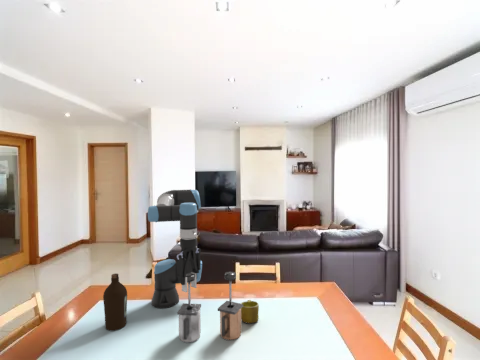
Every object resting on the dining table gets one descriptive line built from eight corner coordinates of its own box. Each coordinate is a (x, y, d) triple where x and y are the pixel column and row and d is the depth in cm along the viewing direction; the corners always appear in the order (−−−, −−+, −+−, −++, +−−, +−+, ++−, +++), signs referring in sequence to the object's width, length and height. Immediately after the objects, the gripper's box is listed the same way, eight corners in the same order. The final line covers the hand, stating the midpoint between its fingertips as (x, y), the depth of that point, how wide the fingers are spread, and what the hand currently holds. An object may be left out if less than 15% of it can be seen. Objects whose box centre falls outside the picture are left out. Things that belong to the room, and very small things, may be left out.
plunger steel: (180, 316, 129) (179, 275, 128) (189, 311, 134) (189, 272, 133) (189, 320, 125) (188, 278, 125) (199, 314, 130) (198, 274, 130)
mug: (260, 323, 137) (254, 301, 139) (240, 327, 139) (235, 306, 142) (265, 315, 149) (259, 295, 151) (246, 320, 151) (241, 300, 153)
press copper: (232, 345, 123) (232, 315, 123) (213, 340, 127) (213, 311, 127) (244, 331, 134) (244, 304, 133) (226, 327, 138) (226, 300, 137)
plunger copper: (221, 314, 131) (220, 274, 130) (229, 309, 135) (229, 270, 135) (231, 318, 127) (231, 277, 126) (239, 312, 132) (239, 273, 131)
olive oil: (104, 333, 133) (102, 280, 132) (103, 322, 142) (102, 272, 141) (128, 328, 137) (127, 276, 136) (126, 317, 147) (125, 269, 146)
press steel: (195, 347, 122) (195, 316, 122) (174, 345, 123) (174, 315, 123) (202, 331, 134) (201, 303, 134) (183, 330, 135) (182, 303, 135)
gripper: (179, 243, 119) (179, 298, 120) (208, 234, 134) (209, 284, 134) (167, 240, 123) (167, 294, 124) (196, 232, 138) (197, 281, 139)
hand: (189, 289), depth 129 cm, fingers closed on plunger steel, 5 cm apart
